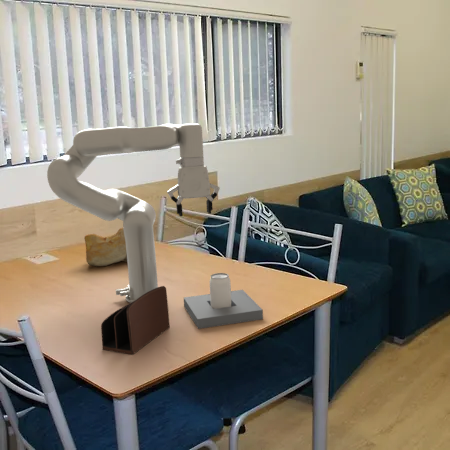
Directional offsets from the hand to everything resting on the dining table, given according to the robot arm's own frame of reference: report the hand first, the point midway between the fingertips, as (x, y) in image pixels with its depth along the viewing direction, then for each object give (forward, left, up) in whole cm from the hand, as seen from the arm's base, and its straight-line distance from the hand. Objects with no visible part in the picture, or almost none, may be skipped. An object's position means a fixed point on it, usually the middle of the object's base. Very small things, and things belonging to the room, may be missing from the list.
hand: (194, 214), depth 191 cm
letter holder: (-25, -28, -29) cm, 47 cm away
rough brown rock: (-24, +57, -29) cm, 68 cm away
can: (+3, -18, -28) cm, 34 cm away
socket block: (+3, -18, -28) cm, 34 cm away
